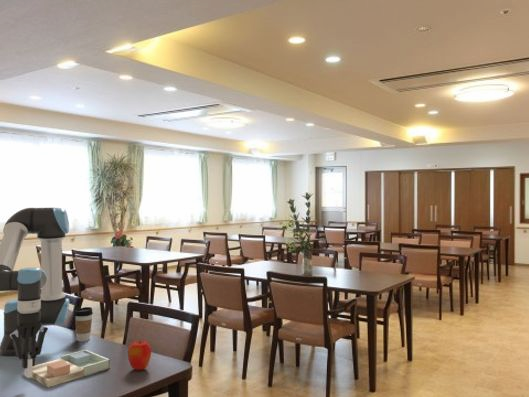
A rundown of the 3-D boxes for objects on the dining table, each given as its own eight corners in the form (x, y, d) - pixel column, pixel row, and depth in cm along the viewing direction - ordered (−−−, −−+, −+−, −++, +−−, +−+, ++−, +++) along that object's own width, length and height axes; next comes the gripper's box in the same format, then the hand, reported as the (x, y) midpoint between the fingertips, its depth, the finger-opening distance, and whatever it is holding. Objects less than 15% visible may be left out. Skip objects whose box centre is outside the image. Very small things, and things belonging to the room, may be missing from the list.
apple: (122, 370, 184) (122, 340, 184) (140, 364, 191) (140, 335, 191) (138, 375, 178) (138, 344, 178) (155, 368, 186) (156, 339, 186)
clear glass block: (68, 362, 191) (69, 355, 191) (82, 358, 195) (82, 351, 195) (76, 365, 187) (76, 358, 187) (89, 362, 192) (89, 354, 192)
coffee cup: (96, 338, 225) (96, 308, 225) (81, 343, 218) (81, 311, 218) (85, 336, 229) (85, 306, 229) (70, 340, 222) (70, 309, 222)
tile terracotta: (46, 372, 174) (47, 365, 174) (62, 368, 179) (62, 360, 179) (54, 376, 170) (54, 368, 170) (70, 372, 175) (70, 364, 175)
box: (60, 364, 190) (60, 356, 190) (85, 357, 198) (85, 349, 198) (84, 376, 178) (84, 367, 178) (109, 368, 186) (109, 359, 186)
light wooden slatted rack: (25, 374, 179) (25, 367, 179) (60, 364, 190) (60, 358, 190) (48, 387, 167) (48, 380, 167) (84, 376, 178) (84, 369, 178)
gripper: (14, 316, 159) (13, 384, 158) (51, 309, 169) (51, 373, 168) (5, 312, 164) (5, 379, 163) (42, 306, 174) (42, 369, 173)
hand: (28, 376), depth 166 cm, fingers closed
